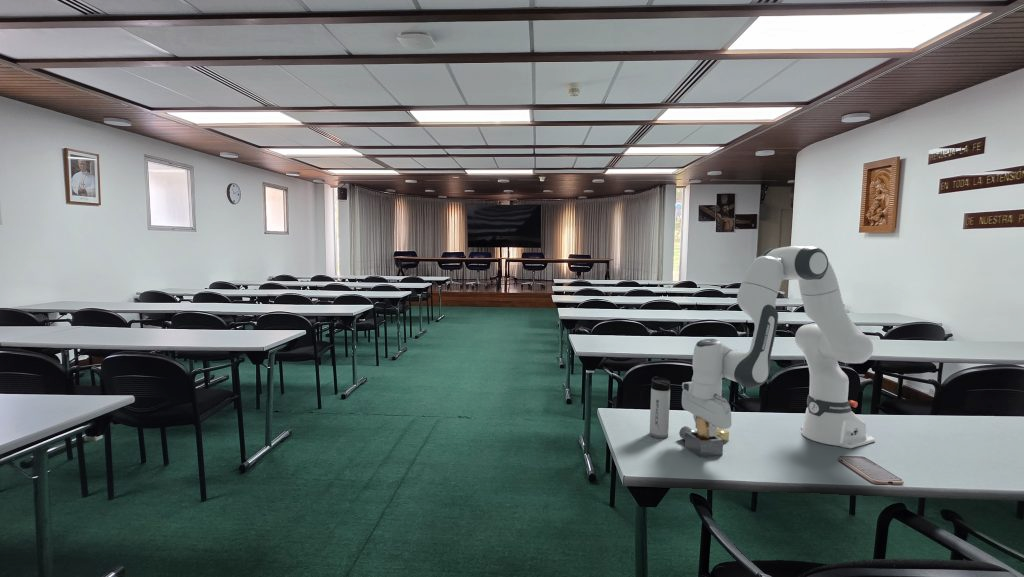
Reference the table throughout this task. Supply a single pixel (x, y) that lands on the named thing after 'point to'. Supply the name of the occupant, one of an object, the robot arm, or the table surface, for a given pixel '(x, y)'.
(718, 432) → the brass round knob
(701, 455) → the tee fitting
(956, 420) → the table surface
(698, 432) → the copper brown cylinder
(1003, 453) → the table surface
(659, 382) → the travel mug
